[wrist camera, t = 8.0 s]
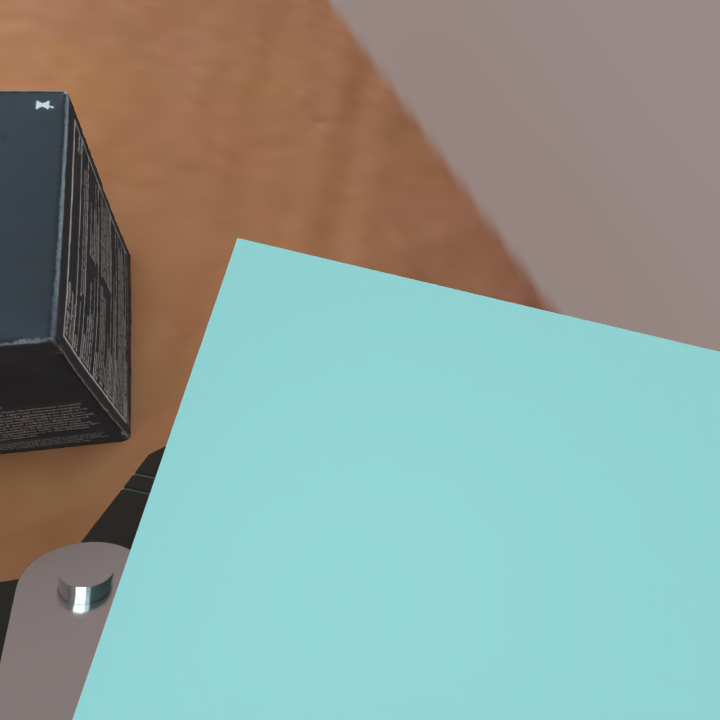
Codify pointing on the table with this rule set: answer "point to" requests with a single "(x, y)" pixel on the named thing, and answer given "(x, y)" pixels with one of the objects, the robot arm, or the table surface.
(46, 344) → the small box
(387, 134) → the table surface
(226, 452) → the teal block
